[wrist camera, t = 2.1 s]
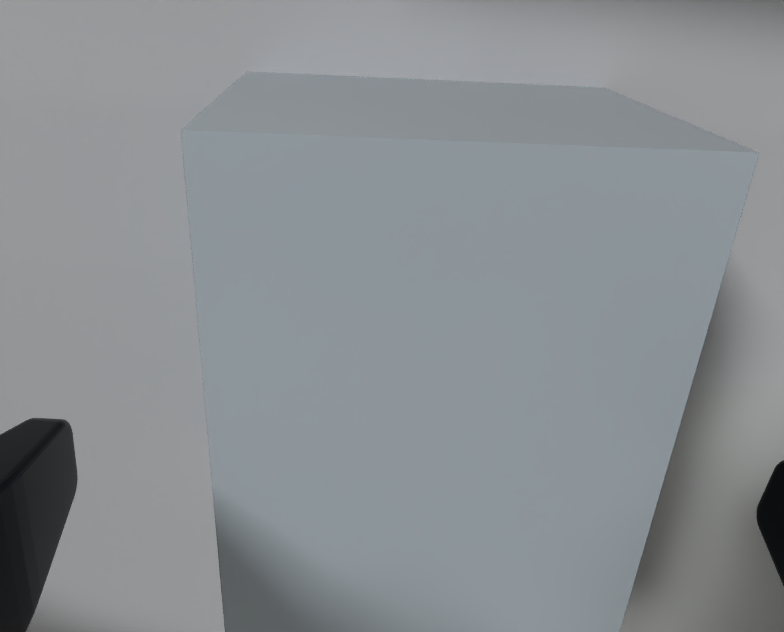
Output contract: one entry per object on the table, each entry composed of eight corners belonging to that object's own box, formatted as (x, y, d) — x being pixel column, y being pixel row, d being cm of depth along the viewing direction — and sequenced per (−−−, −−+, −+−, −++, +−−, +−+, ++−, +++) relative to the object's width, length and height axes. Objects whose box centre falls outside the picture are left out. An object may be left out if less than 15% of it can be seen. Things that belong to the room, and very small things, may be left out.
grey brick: (534, 458, 15) (611, 658, 11) (264, 457, 15) (227, 665, 10) (600, 86, 12) (759, 152, 7) (248, 69, 11) (180, 129, 7)
